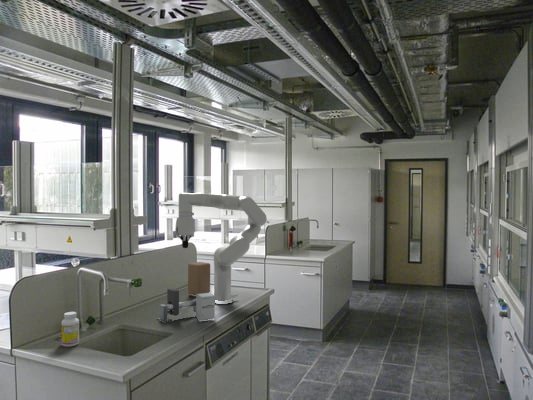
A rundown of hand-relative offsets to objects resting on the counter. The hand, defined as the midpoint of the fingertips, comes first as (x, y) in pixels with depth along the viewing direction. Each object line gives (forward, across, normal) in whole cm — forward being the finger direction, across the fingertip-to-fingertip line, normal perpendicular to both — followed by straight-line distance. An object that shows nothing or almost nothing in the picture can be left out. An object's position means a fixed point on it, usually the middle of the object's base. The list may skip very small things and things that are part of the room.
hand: (185, 247), depth 244 cm
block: (+32, -18, -14) cm, 40 cm away
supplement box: (+32, +7, +32) cm, 46 cm away
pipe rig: (+32, +14, +20) cm, 40 cm away
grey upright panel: (+30, +18, +20) cm, 40 cm away
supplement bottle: (+32, +69, +27) cm, 81 cm away
